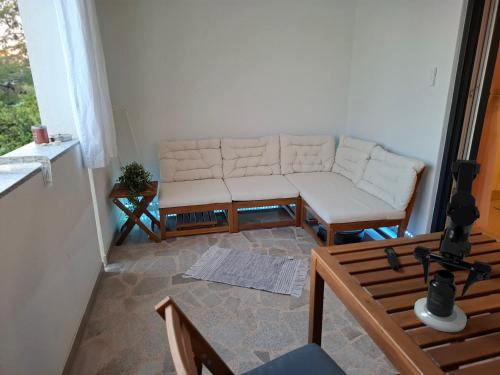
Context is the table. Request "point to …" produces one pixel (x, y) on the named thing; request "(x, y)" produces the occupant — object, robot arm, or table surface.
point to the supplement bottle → (441, 294)
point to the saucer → (440, 318)
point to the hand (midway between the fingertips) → (443, 290)
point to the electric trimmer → (392, 258)
